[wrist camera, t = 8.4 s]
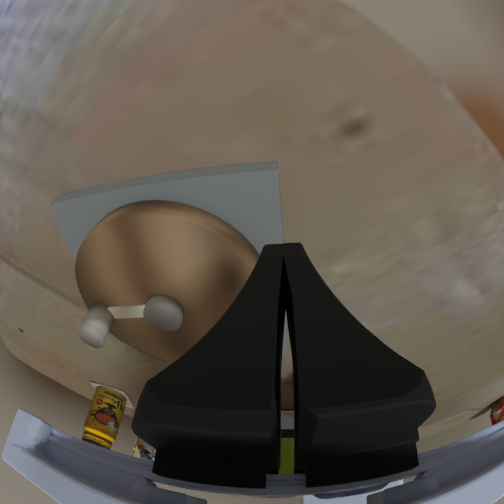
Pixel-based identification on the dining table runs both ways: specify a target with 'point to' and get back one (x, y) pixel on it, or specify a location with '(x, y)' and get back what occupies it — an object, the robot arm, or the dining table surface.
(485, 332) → the dining table surface
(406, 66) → the dining table surface
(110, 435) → the condiment
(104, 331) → the handwheel
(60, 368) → the dining table surface
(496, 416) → the flower
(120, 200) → the base plate
